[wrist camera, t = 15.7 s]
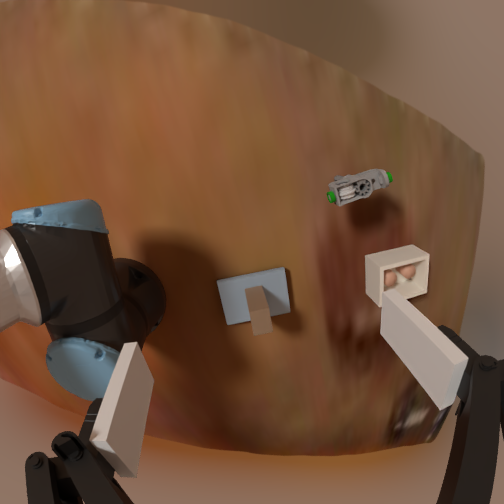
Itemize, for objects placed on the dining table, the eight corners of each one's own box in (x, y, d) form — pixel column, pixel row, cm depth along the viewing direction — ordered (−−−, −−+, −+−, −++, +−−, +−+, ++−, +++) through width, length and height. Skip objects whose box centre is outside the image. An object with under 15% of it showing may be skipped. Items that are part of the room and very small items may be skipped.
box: (365, 293, 58) (379, 307, 52) (365, 255, 55) (379, 267, 50) (411, 280, 59) (426, 292, 53) (412, 244, 56) (429, 254, 50)
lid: (227, 319, 57) (229, 351, 47) (216, 278, 54) (217, 305, 45) (288, 307, 57) (301, 336, 48) (282, 265, 54) (295, 289, 45)
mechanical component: (365, 179, 51) (395, 187, 41) (313, 197, 51) (334, 209, 41) (361, 163, 50) (390, 168, 40) (308, 180, 50) (328, 188, 40)
